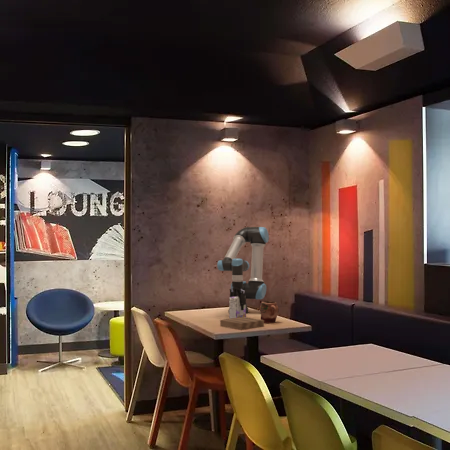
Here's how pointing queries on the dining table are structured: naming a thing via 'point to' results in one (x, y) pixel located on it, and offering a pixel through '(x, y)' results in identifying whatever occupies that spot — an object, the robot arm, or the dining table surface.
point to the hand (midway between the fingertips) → (237, 314)
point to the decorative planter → (269, 311)
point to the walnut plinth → (242, 323)
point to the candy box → (235, 308)
